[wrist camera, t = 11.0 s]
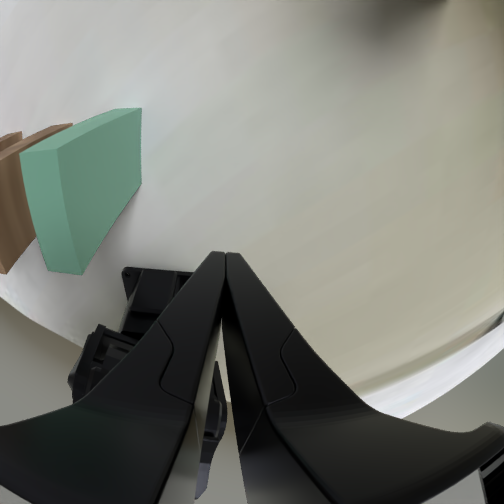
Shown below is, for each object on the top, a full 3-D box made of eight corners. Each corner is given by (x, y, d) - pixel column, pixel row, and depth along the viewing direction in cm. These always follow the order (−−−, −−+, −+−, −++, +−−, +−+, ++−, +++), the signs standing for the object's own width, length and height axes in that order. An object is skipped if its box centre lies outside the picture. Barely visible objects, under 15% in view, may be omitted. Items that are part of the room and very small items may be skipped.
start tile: (141, 107, 14) (56, 149, 6) (141, 183, 16) (82, 275, 9) (114, 109, 13) (19, 153, 6) (116, 183, 16) (48, 270, 9)
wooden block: (72, 123, 13) (-25, 177, 6) (78, 191, 16) (6, 274, 9) (52, 125, 13) (-44, 180, 6) (59, 191, 16) (-14, 270, 9)
